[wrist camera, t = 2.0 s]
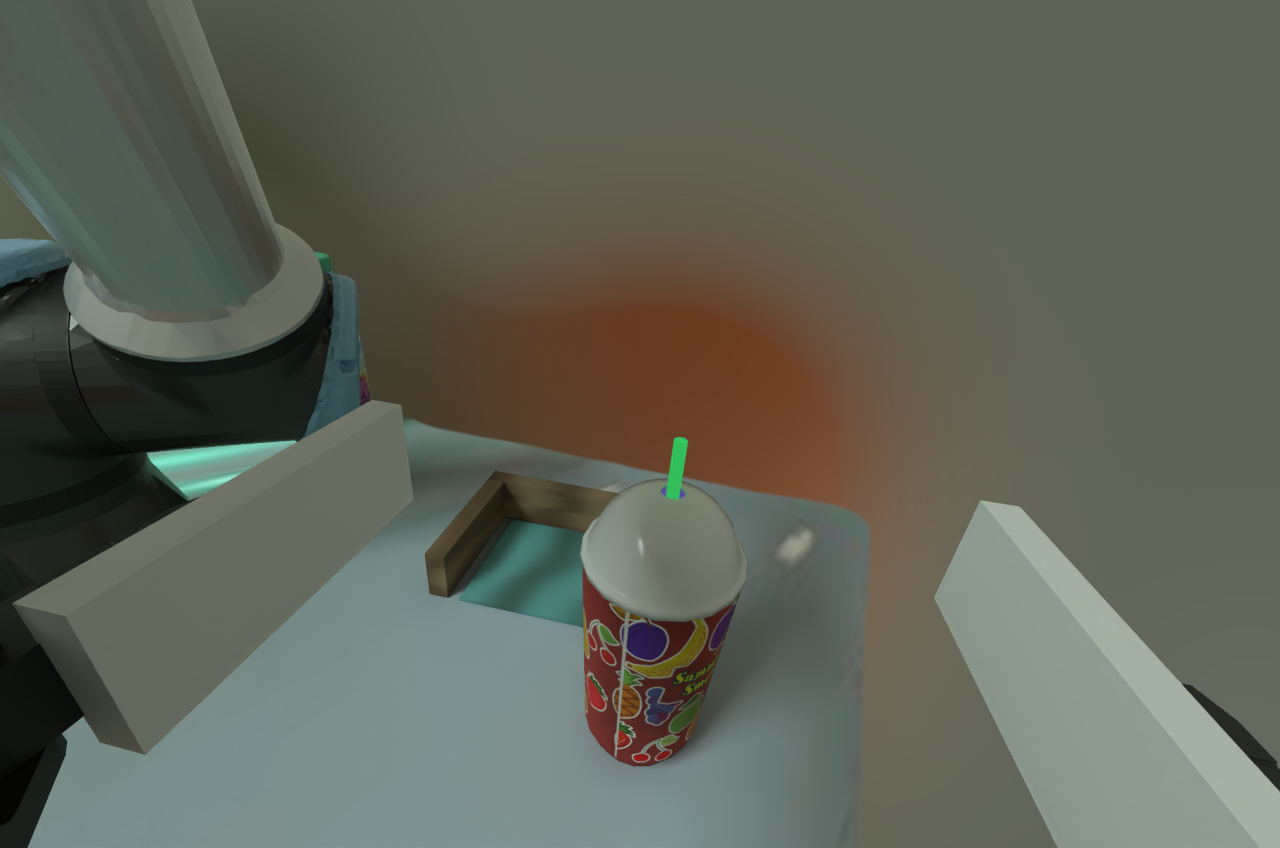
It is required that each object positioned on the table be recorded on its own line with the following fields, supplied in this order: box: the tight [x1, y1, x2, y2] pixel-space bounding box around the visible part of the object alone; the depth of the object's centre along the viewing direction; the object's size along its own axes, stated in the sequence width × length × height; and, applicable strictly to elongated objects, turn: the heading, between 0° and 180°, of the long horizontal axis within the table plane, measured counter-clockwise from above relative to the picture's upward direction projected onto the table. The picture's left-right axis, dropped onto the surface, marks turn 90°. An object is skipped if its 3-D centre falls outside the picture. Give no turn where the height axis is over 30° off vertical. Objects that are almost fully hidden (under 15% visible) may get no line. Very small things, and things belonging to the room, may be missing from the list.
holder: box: [425, 471, 618, 627], centre depth 42 cm, size 15×12×4 cm
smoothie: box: [580, 437, 748, 766], centre depth 26 cm, size 8×8×20 cm
